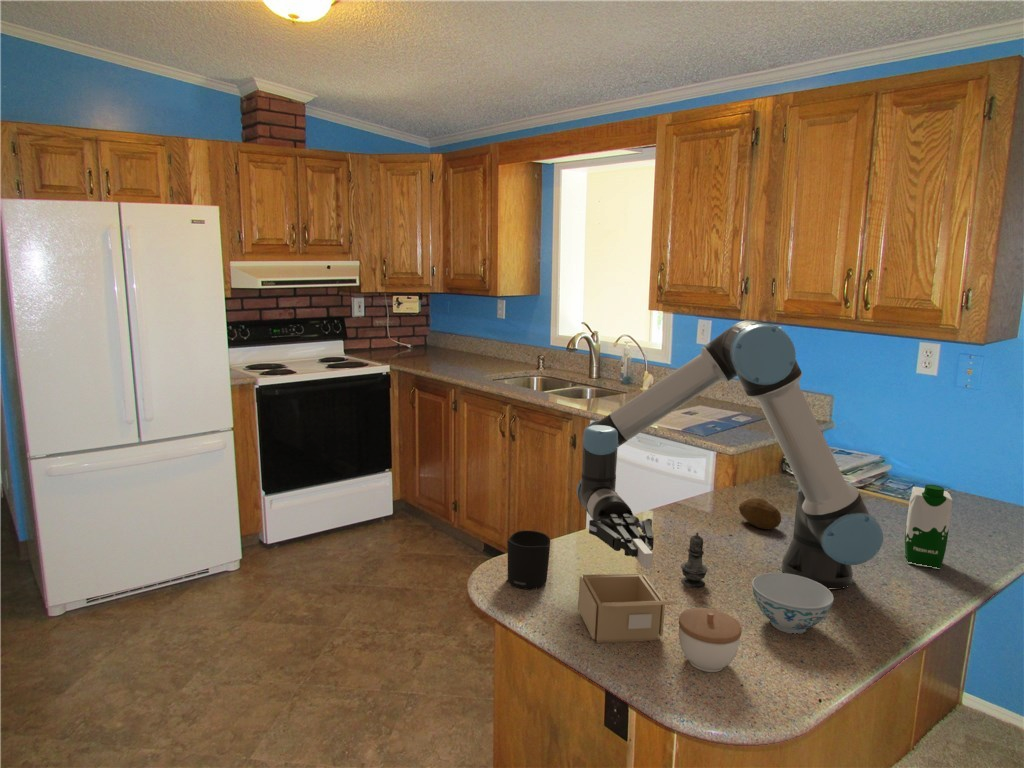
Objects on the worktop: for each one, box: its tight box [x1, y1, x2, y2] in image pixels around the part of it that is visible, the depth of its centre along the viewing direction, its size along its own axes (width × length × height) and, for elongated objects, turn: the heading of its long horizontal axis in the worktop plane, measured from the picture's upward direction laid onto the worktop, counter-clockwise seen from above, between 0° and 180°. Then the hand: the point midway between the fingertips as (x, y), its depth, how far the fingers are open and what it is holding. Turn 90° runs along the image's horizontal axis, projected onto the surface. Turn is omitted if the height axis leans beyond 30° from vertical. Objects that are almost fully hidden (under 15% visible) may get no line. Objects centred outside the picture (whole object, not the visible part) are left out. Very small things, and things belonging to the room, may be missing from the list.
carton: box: [577, 572, 666, 644], centre depth 133 cm, size 14×13×8 cm
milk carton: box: [904, 484, 954, 569], centre depth 168 cm, size 9×9×20 cm
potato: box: [738, 497, 782, 530], centre depth 190 cm, size 8×12×8 cm, turn 45°
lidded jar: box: [678, 607, 742, 673], centre depth 121 cm, size 11×11×9 cm
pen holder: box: [507, 530, 551, 590], centre depth 150 cm, size 9×9×10 cm
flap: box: [602, 600, 677, 606], centre depth 122 cm, size 11×1×8 cm
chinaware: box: [751, 572, 835, 635], centre depth 135 cm, size 15×15×8 cm
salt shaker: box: [680, 531, 709, 589], centre depth 152 cm, size 6×6×12 cm
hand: (648, 560), depth 117 cm, fingers closed
